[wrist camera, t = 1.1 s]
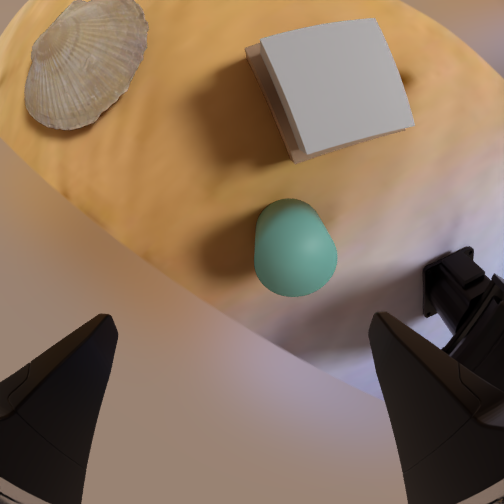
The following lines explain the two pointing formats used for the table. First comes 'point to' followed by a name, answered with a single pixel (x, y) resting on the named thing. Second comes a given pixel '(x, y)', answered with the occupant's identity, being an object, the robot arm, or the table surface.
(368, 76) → the grey block
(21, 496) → the robot arm
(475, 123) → the table surface
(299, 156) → the walnut base
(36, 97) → the seashell
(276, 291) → the teal cylinder
